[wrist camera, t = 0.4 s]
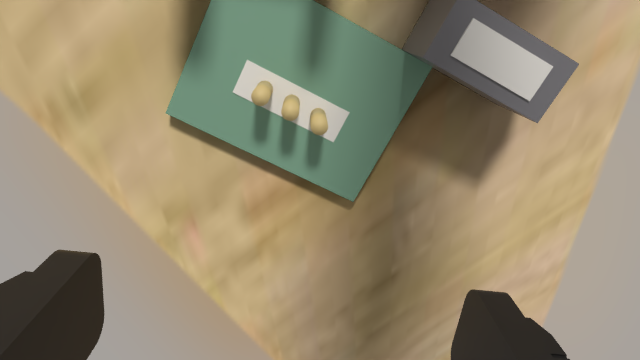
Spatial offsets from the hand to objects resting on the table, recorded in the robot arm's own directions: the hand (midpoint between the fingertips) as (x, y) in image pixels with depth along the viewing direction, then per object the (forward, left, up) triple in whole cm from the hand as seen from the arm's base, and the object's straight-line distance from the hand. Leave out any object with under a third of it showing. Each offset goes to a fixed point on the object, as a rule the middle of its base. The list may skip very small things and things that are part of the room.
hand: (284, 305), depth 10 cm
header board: (-1, -1, -26) cm, 26 cm away
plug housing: (-9, +9, -26) cm, 29 cm away
